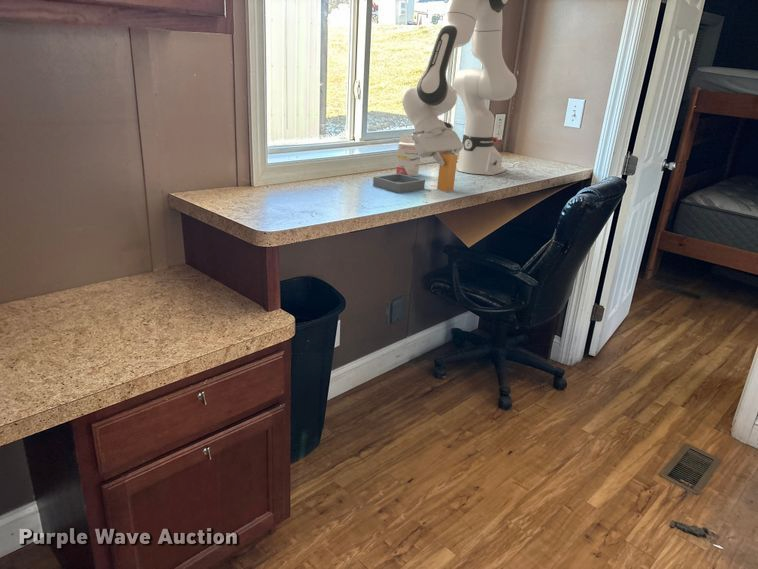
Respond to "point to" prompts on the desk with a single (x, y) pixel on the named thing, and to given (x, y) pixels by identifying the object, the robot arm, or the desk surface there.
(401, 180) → the tray
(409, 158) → the ink cartridge box
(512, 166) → the desk surface
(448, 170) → the orange rectangular block
